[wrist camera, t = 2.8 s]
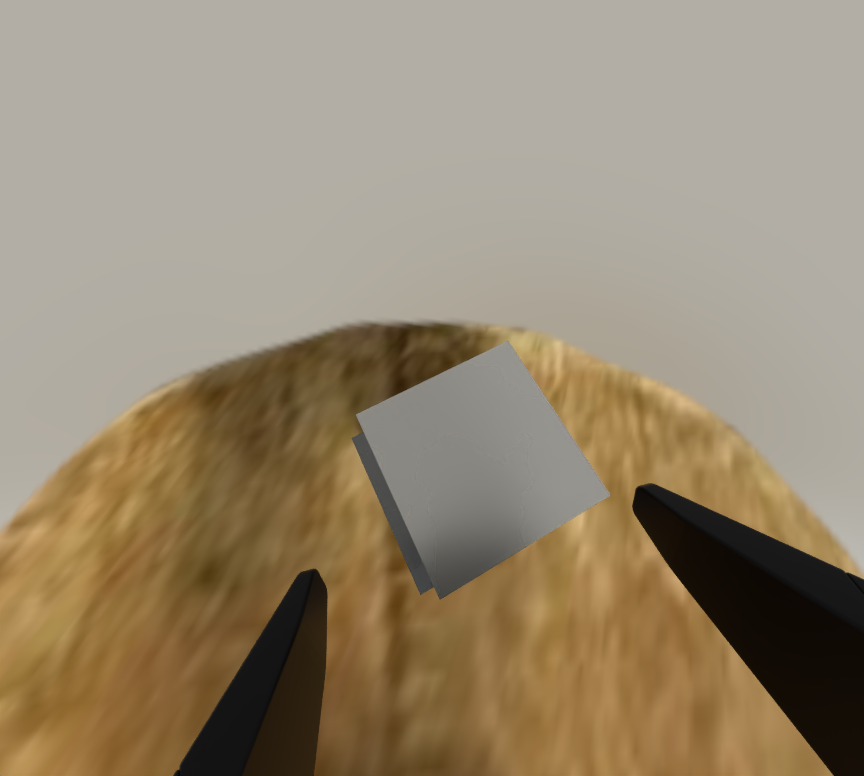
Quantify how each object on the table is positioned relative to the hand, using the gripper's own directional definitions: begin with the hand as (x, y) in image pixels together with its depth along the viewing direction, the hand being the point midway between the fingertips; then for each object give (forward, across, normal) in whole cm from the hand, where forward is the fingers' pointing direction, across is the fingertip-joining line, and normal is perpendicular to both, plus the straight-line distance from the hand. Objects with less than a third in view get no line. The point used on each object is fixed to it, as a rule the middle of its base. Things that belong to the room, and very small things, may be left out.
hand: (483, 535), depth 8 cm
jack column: (+7, 0, +5) cm, 9 cm away
